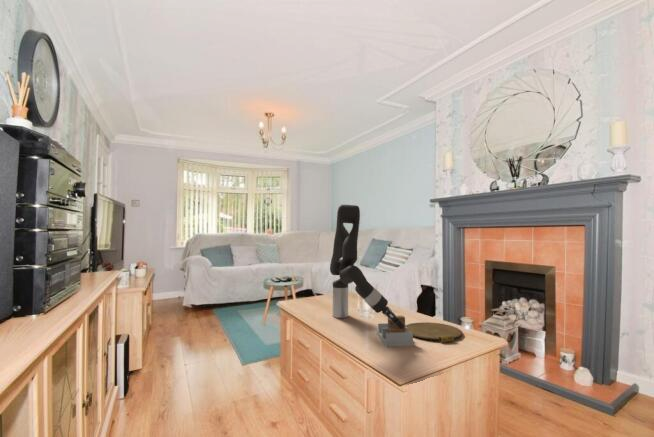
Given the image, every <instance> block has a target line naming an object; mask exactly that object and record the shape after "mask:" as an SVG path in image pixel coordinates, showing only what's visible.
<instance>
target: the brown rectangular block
mask: <svg viewBox="0 0 654 437" xmlns="http://www.w3.org/2000/svg"><path fill="white" fill-rule="evenodd" d="M396 317H397V318H398V319H399V321H400V322H401V323H402V324H403V325H404V327H403V328H402V329H400V328H399V327H398V326H397V325H396V324H395V323H394V322H393V321H392V320H390V319H389V318H388V317H387V323H388V333H389V332H405V325H406V317H405V316H404V315H396ZM395 320H396V319H395ZM395 320H394V321H395Z"/></svg>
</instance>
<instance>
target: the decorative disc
mask: <svg viewBox="0 0 654 437" xmlns="http://www.w3.org/2000/svg"><path fill="white" fill-rule="evenodd" d="M405 327H407V328H408V332H413V338H418V339H422V340H423V339H424V340H430V341H431V340H432V341H433V340H434V341H438V342H439V343H440V344H446V343H453V342H454V341H455V339H458V338H461V337H462V335H463V334H464V333H463V331H462V330H461V329H460V328H458V327H457V326H456V327H455V326H453V325H450V324H445V323H439V322H413V323H408V324H405Z"/></svg>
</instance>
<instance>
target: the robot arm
mask: <svg viewBox="0 0 654 437" xmlns="http://www.w3.org/2000/svg"><path fill="white" fill-rule="evenodd" d="M360 218H361V210H360V207H359V205H355V204H354V205H353V204H340V205H339V206H338V208H337V214H336V225H335V226H336V229H335V235H334V240H333V241H334V242H333V247H332V248H333V249H332V256H331V260H330V264H329V270H330V272H329V273H330V274H331V275H333V276H339V279H336V280H334V281H333V282H332V317H333V318H336V319H345V318H349V285H350V284H352V283H354V284H355V288H354V290H355V292H356V293H357V294H358V295H359V296H360V297H361V298H362V299H363V300H364V302H365V303H366V304H367V305H368V306H369V307H370V309H372V310H373V311H374V312H375V313H377V314H379V313H382V314H383V316H384V317H386V318H387V319H388V318H389V319H390V320H392V321H393V322H394V323H395V324H396V325H397V326H398V327H399V328H400V329H402V328H403V327H404V325H403V324H402V323H401V322H400V321H399V319H398V318H397V317H396V316H397V314H395V312H393V310H392V309H391V308H390V307H389V306H388V303H389V300H388V299H387V298H385V296H384V295H383V294H382V293H381V292H379V290H378V289H376V288H375V287H374V286H373V285H372V284H371V283H370V282H369V281H368V279H367V278H366V277H365V275H364V273H363V271H362V270H361V269H360V268H359V267H358V266H357V265H355V263H357V261H358V237H359V230H360V229H359V228H360ZM345 224H352V227H351V230H350V232H348V230H347V229H346V227H345ZM341 258H342V259H341ZM395 319H396V320H395ZM394 320H395V321H394Z"/></svg>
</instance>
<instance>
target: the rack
mask: <svg viewBox="0 0 654 437" xmlns="http://www.w3.org/2000/svg"><path fill="white" fill-rule="evenodd" d="M376 335H377V336H378V338H379V339H380V340H381V342H382V343H383V345H384V346H385V348H386V347H389V348H390V347H409V346H411V347H412V346H416V345H415V343H416V342H415V341H414V336H413V332H408V328H407V327H405V332H389V333H388V322H378V323H377V331H376Z"/></svg>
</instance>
